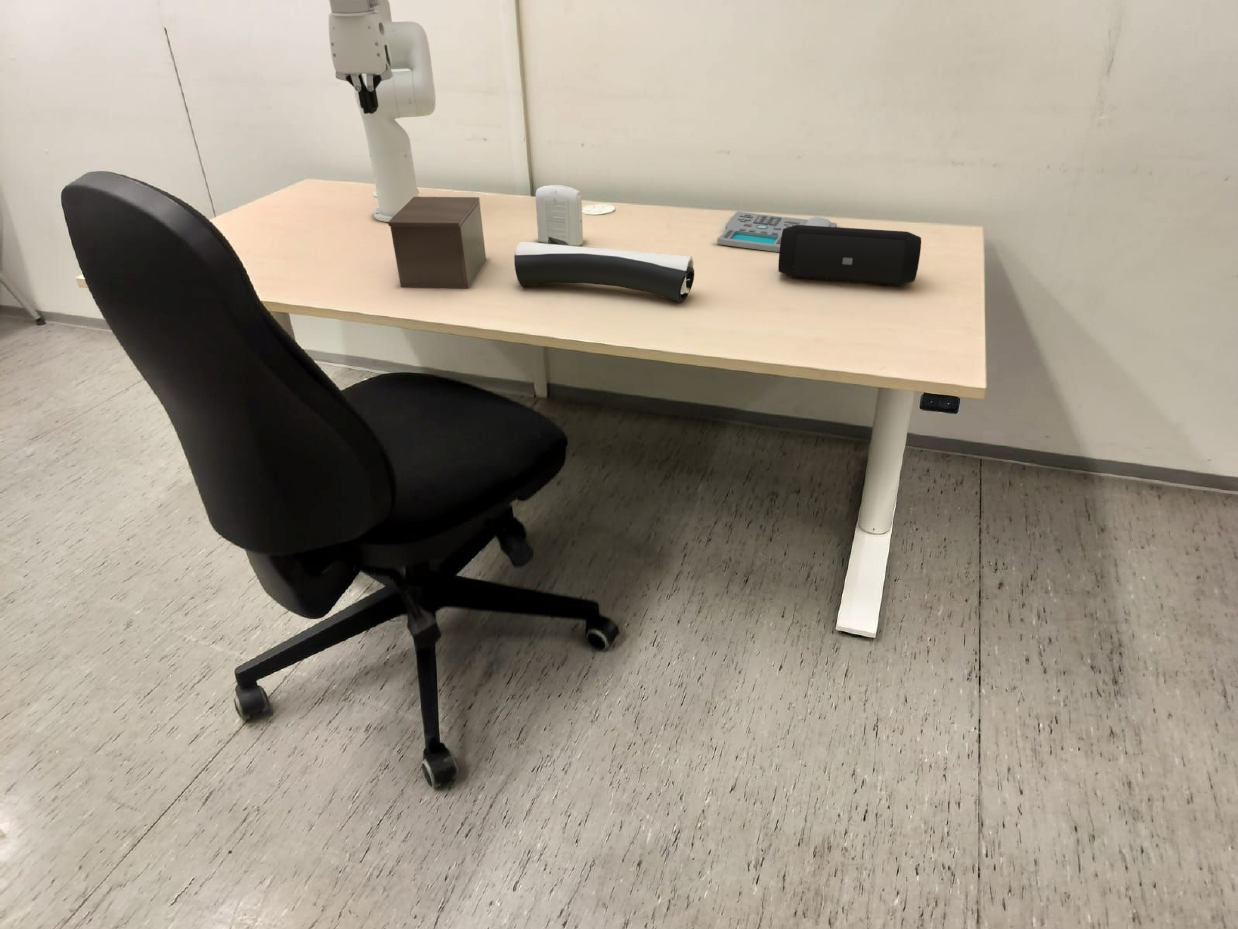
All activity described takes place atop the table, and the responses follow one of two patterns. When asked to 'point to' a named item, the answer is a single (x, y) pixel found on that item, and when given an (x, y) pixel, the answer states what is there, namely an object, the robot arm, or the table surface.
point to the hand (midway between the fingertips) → (370, 111)
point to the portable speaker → (849, 255)
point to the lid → (434, 212)
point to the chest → (440, 253)
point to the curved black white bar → (604, 268)
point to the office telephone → (762, 230)
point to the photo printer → (559, 214)
